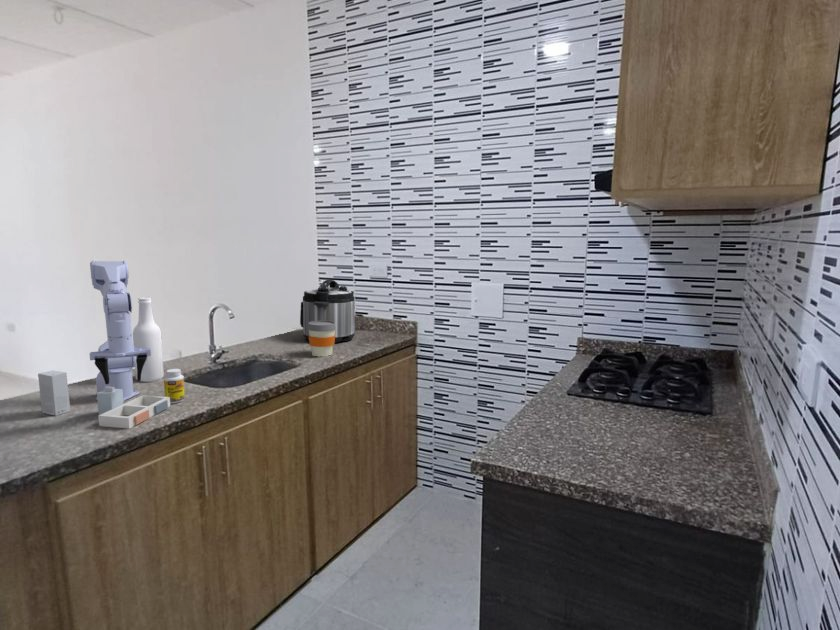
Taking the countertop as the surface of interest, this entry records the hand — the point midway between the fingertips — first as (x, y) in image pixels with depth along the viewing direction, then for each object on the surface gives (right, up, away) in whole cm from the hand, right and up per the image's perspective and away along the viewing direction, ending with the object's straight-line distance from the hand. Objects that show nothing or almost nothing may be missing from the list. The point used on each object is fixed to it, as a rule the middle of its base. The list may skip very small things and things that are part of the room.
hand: (123, 381), depth 130 cm
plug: (-5, -10, +3) cm, 12 cm away
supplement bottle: (+7, -9, +14) cm, 18 cm away
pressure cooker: (+36, +6, +111) cm, 117 cm away
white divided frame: (+3, -10, +2) cm, 11 cm away
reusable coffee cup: (+40, +1, +77) cm, 87 cm away
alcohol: (-14, -4, +35) cm, 38 cm away
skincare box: (-21, -10, +2) cm, 23 cm away
